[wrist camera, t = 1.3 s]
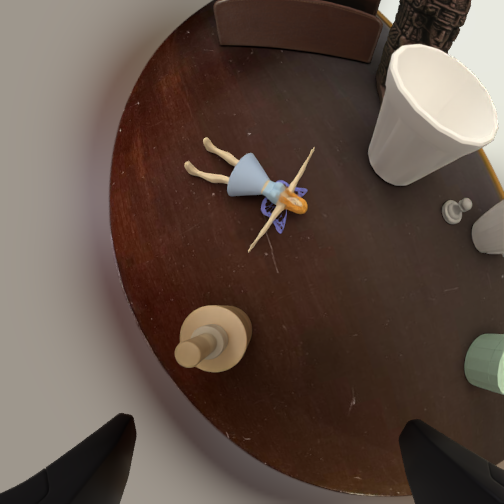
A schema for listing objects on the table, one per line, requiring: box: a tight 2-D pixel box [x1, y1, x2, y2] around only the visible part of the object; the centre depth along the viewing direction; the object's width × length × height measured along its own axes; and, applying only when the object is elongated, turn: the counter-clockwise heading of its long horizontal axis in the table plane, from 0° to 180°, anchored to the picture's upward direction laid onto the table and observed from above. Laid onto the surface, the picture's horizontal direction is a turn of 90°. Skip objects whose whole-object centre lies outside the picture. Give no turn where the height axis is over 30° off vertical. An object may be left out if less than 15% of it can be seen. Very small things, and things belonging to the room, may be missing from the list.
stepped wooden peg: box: [175, 324, 228, 368], centre depth 16 cm, size 2×2×6 cm
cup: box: [368, 44, 498, 186], centre depth 22 cm, size 10×10×13 cm
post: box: [180, 305, 252, 372], centre depth 23 cm, size 4×4×8 cm
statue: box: [376, 0, 471, 105], centre depth 21 cm, size 7×7×20 cm
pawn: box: [442, 198, 472, 224], centre depth 26 cm, size 3×3×4 cm
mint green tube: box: [464, 334, 504, 395], centre depth 22 cm, size 6×6×6 cm
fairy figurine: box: [185, 137, 315, 252], centre depth 27 cm, size 12×5×12 cm
